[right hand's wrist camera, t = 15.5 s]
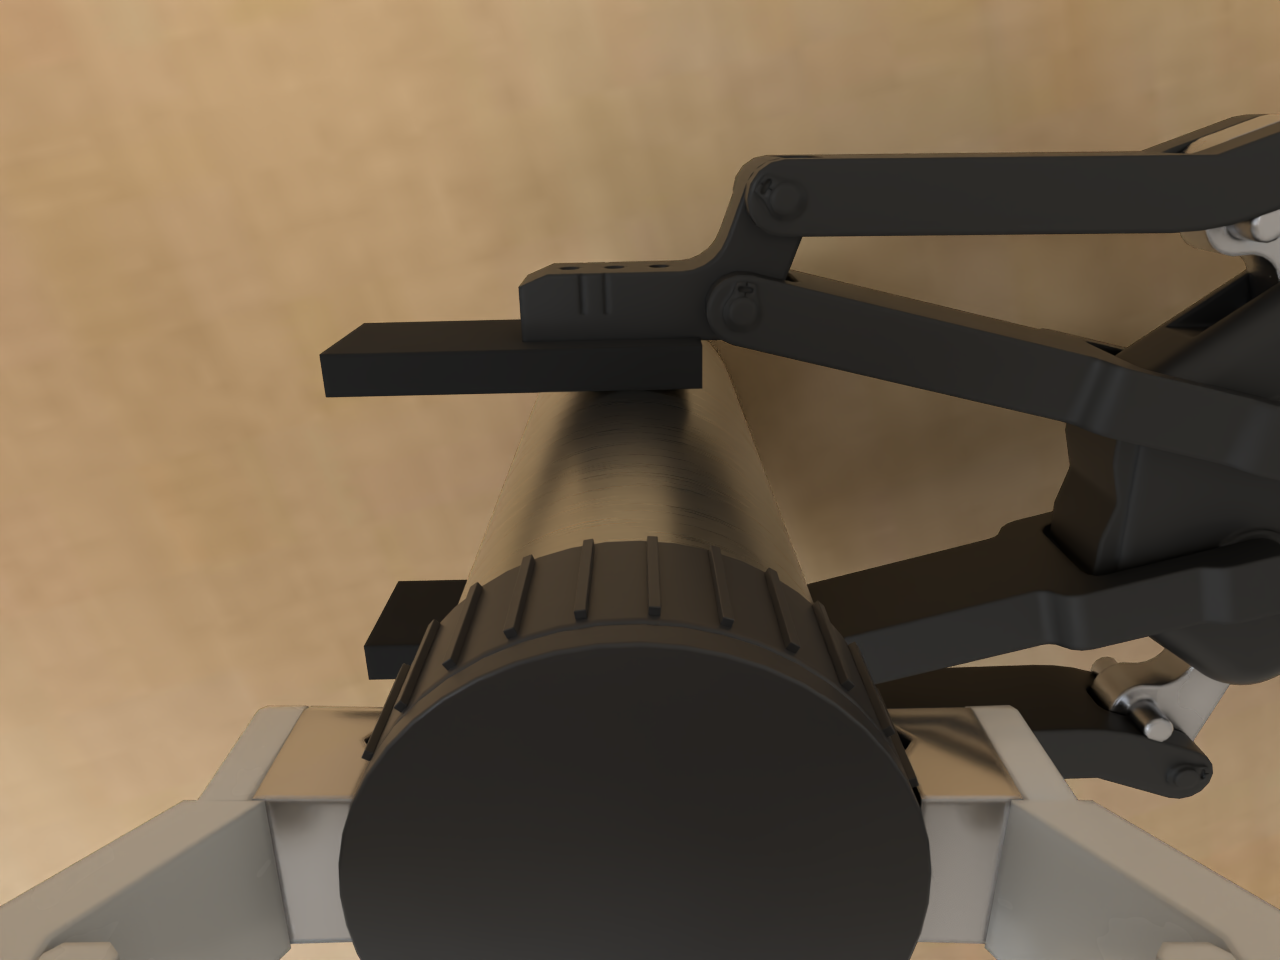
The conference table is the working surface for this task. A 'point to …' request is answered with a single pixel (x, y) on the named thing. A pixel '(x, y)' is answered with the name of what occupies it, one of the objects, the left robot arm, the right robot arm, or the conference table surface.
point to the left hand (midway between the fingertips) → (369, 500)
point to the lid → (635, 776)
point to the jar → (639, 479)
